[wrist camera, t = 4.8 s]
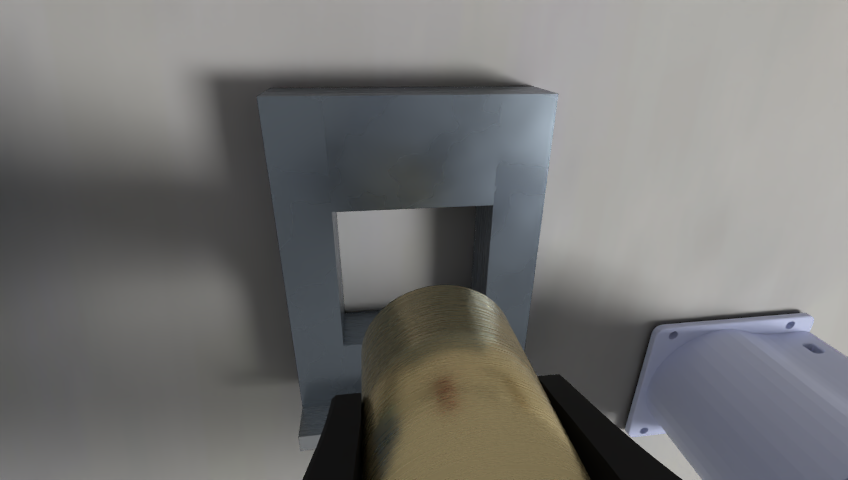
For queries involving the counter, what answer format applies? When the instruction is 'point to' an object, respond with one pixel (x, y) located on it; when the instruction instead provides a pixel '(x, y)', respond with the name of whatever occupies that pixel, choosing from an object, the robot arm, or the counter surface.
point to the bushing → (455, 396)
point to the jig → (398, 201)
